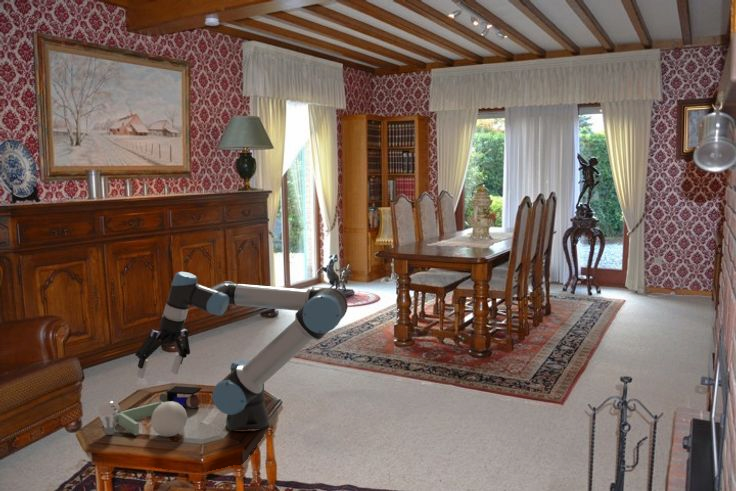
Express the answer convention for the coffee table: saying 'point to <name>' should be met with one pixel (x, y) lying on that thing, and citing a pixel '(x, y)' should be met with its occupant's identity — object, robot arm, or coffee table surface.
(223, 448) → the coffee table surface
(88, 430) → the coffee table surface
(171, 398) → the figurine character
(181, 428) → the ball
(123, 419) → the green u-shaped channel
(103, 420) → the light bulb
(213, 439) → the coffee table surface
